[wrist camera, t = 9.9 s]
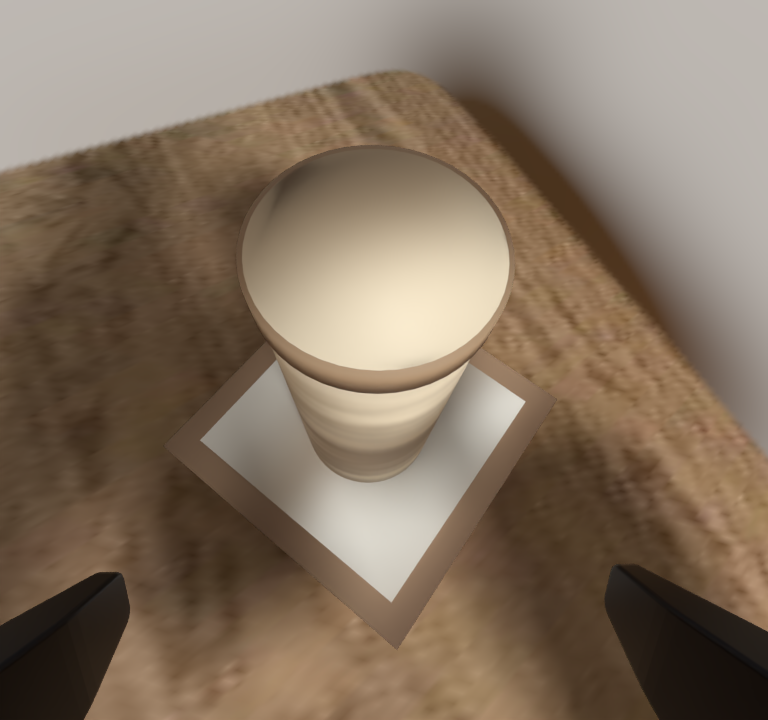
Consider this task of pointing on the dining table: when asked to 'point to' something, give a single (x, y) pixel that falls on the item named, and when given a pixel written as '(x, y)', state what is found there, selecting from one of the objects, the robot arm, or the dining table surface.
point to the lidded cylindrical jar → (373, 295)
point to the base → (359, 499)
